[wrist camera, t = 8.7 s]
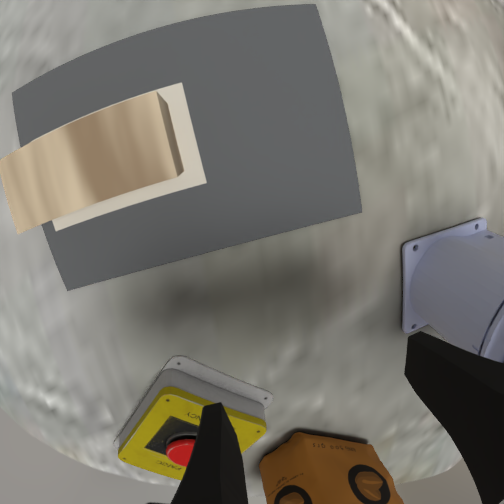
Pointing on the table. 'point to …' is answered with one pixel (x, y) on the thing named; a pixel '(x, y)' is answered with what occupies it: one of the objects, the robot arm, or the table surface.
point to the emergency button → (187, 415)
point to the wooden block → (91, 161)
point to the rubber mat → (206, 138)
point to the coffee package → (326, 473)
